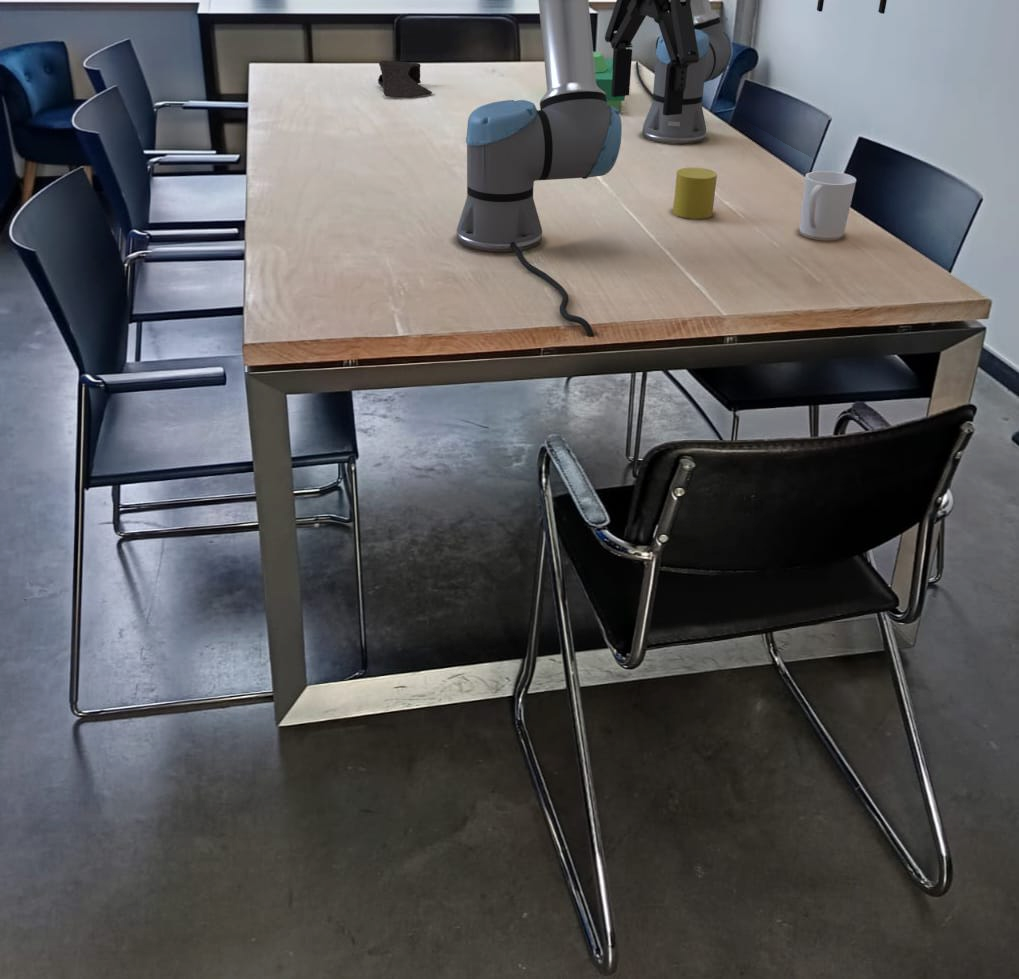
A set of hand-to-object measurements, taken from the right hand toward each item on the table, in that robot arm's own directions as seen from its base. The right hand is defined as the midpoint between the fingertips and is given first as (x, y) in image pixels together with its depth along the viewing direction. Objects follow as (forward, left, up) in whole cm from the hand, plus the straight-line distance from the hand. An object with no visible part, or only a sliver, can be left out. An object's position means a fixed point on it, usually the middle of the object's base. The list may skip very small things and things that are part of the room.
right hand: (850, 11), depth 243 cm
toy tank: (-41, -58, -29) cm, 77 cm away
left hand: (+102, -49, 0) cm, 113 cm away
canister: (+57, -36, -29) cm, 74 cm away
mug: (+68, -14, -29) cm, 75 cm away
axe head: (-43, -108, -29) cm, 119 cm away
